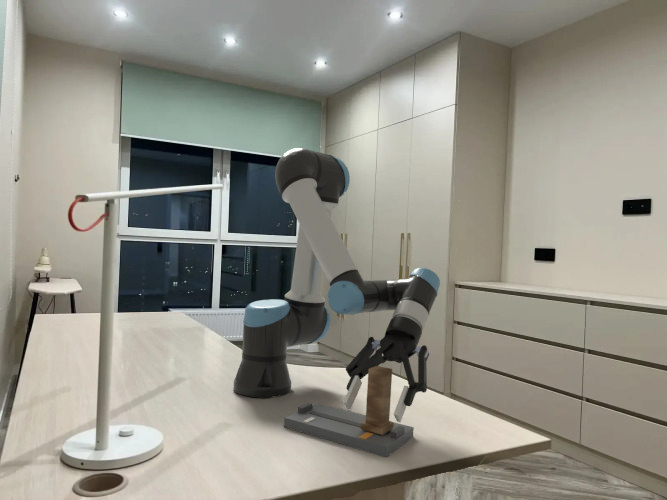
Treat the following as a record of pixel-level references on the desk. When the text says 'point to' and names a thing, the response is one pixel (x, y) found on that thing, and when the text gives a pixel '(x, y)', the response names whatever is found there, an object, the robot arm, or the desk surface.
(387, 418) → the fader
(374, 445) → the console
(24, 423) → the desk surface
